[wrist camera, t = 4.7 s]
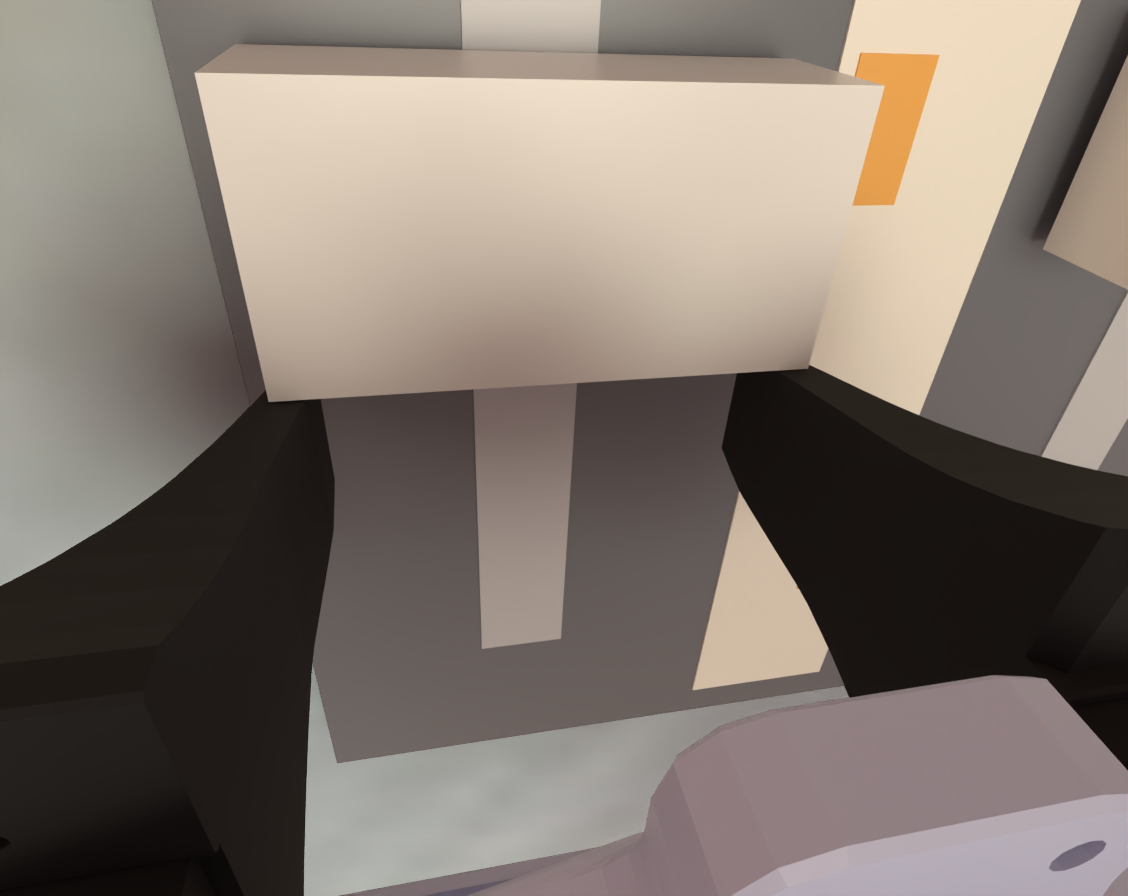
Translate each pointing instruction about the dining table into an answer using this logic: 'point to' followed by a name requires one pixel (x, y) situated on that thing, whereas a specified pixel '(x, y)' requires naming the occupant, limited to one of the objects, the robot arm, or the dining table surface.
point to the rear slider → (1099, 197)
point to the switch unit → (692, 403)
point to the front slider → (529, 212)
